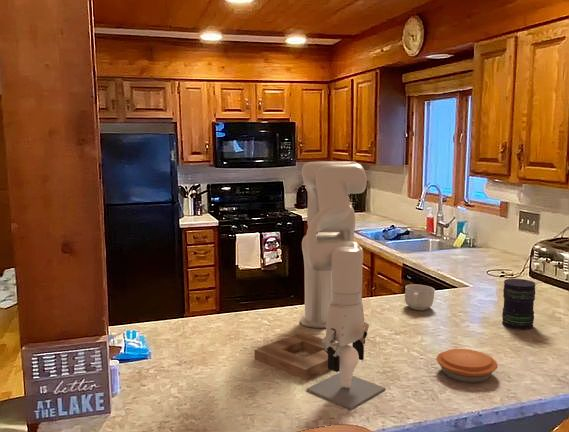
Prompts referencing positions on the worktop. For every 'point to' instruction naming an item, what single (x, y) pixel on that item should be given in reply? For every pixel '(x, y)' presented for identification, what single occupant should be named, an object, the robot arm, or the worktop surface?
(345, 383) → the lightbulb
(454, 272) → the worktop surface
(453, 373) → the pie
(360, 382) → the mat
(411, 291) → the teacup
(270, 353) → the holder
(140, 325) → the worktop surface
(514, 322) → the storage jar
